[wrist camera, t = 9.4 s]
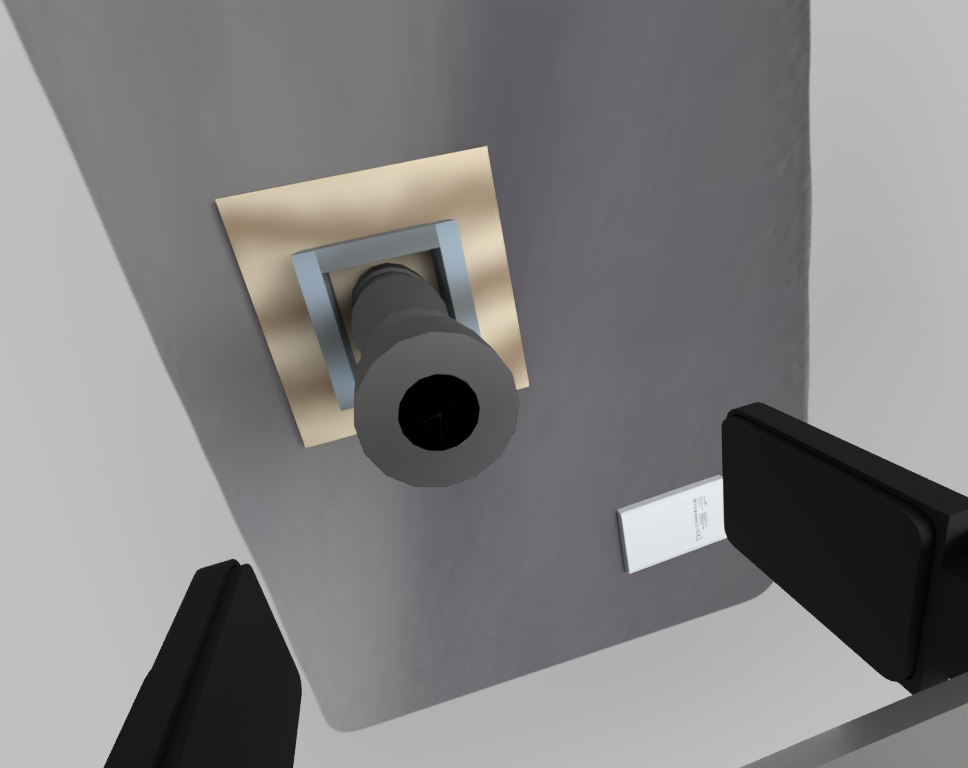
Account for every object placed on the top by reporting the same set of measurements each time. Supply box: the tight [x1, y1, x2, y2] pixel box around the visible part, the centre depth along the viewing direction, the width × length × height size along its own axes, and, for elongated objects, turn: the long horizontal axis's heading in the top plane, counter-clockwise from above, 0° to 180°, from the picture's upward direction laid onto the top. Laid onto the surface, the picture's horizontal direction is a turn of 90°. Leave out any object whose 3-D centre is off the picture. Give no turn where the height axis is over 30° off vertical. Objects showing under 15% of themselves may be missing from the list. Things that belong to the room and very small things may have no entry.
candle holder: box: [351, 263, 520, 487], centre depth 29 cm, size 6×6×25 cm
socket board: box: [215, 146, 529, 448], centre depth 38 cm, size 20×20×7 cm
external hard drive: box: [617, 475, 727, 574], centre depth 56 cm, size 2×8×12 cm
